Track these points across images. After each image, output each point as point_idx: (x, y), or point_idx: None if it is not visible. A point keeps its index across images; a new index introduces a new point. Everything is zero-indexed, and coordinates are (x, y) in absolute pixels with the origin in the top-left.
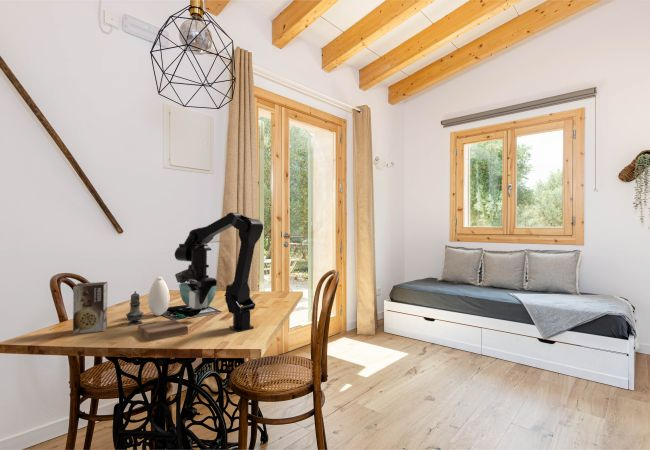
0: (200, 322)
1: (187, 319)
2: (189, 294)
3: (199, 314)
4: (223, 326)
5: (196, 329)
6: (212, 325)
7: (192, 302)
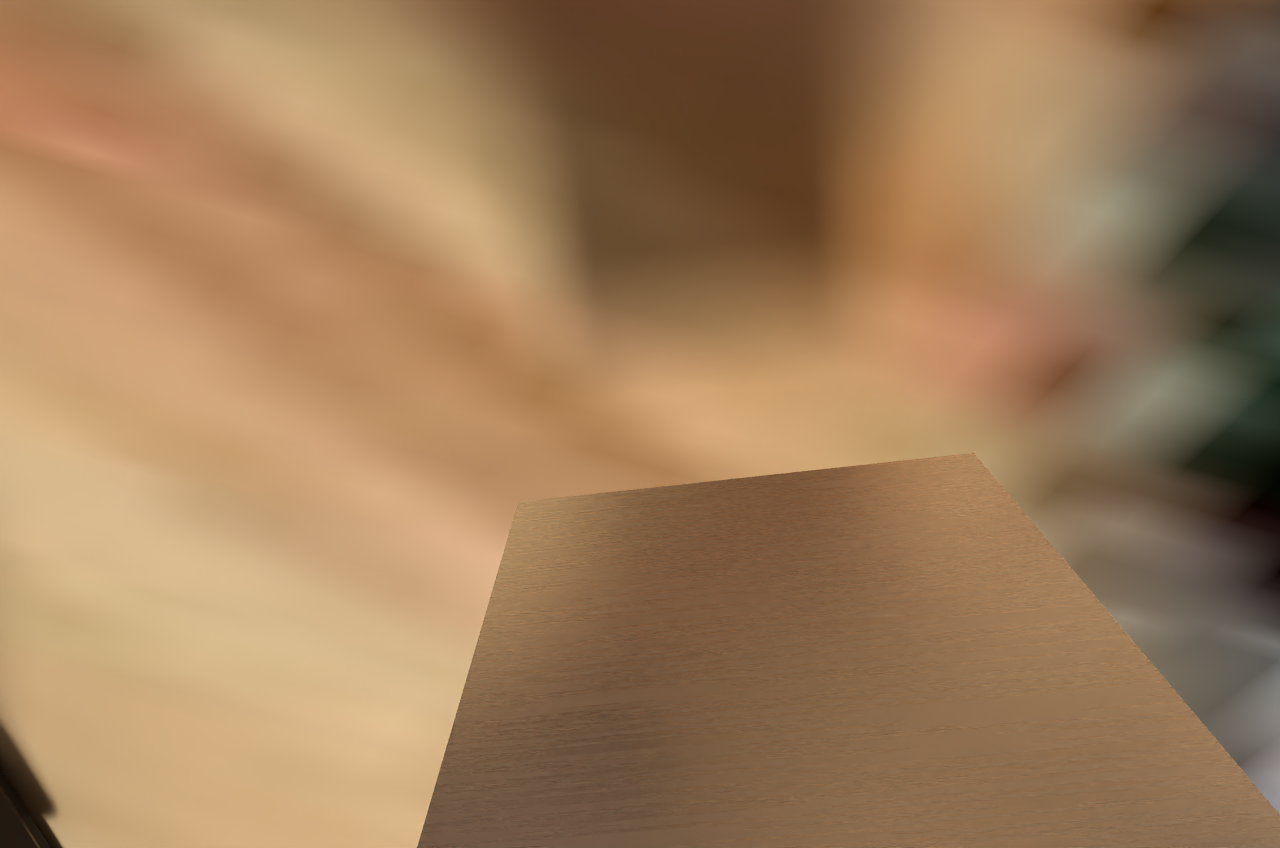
0: (567, 457)
1: (985, 317)
2: (1276, 842)
3: (1202, 619)
4: (100, 667)
5: (34, 232)
6: (237, 557)
7: (712, 593)
